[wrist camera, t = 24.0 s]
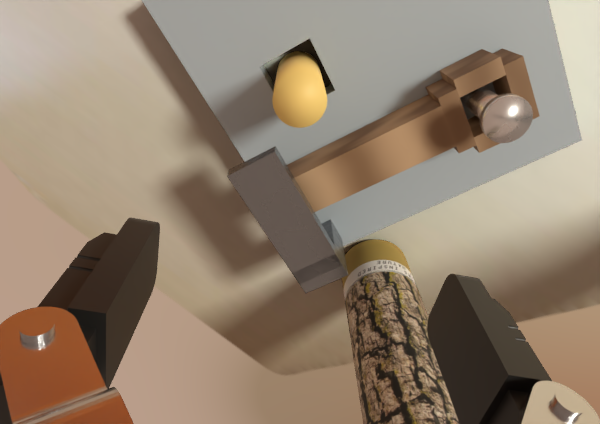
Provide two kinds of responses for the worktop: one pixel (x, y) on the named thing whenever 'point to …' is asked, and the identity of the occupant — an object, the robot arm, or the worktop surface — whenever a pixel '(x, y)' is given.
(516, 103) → the pintle
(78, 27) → the worktop surface
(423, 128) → the link
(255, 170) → the keeper
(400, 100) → the board
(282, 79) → the pin
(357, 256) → the brown bark-textured cylinder
